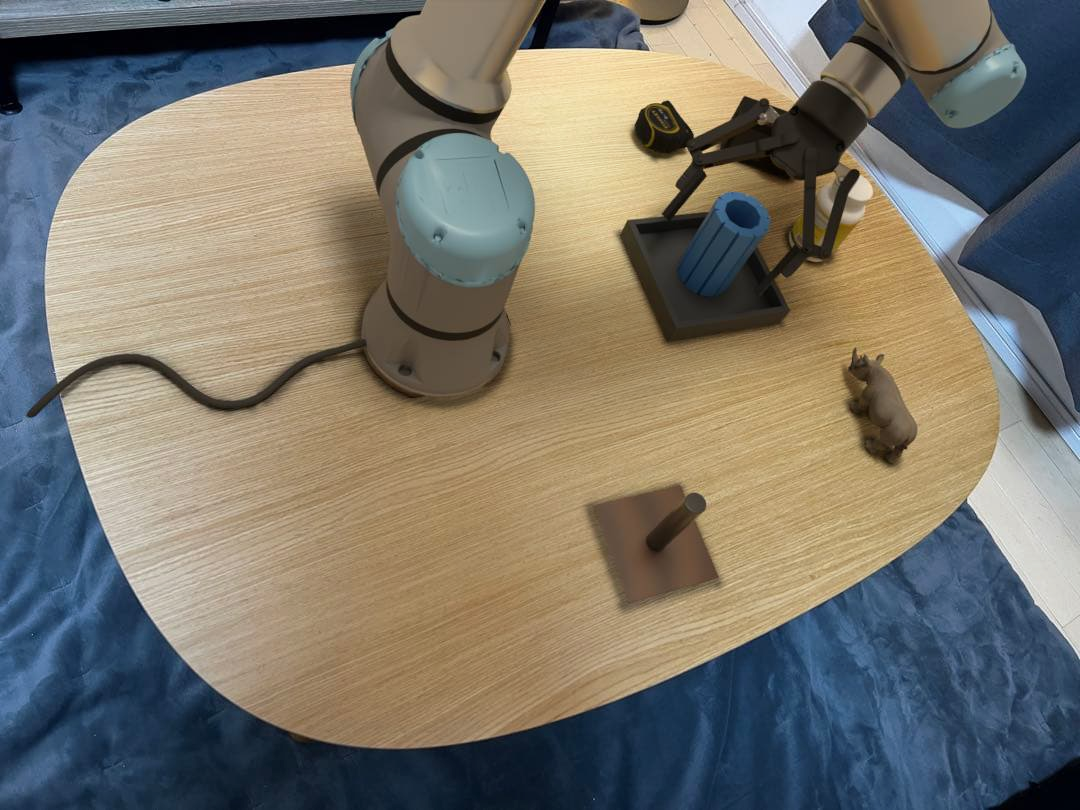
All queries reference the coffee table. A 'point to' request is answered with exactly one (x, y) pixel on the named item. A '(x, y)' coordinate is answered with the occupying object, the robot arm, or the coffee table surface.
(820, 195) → the pill bottle
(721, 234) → the blue grooved hollow cylinder
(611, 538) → the stand
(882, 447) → the rhino figurine
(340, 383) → the coffee table surface
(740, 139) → the digital camera
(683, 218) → the tray
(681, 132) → the tape measure
